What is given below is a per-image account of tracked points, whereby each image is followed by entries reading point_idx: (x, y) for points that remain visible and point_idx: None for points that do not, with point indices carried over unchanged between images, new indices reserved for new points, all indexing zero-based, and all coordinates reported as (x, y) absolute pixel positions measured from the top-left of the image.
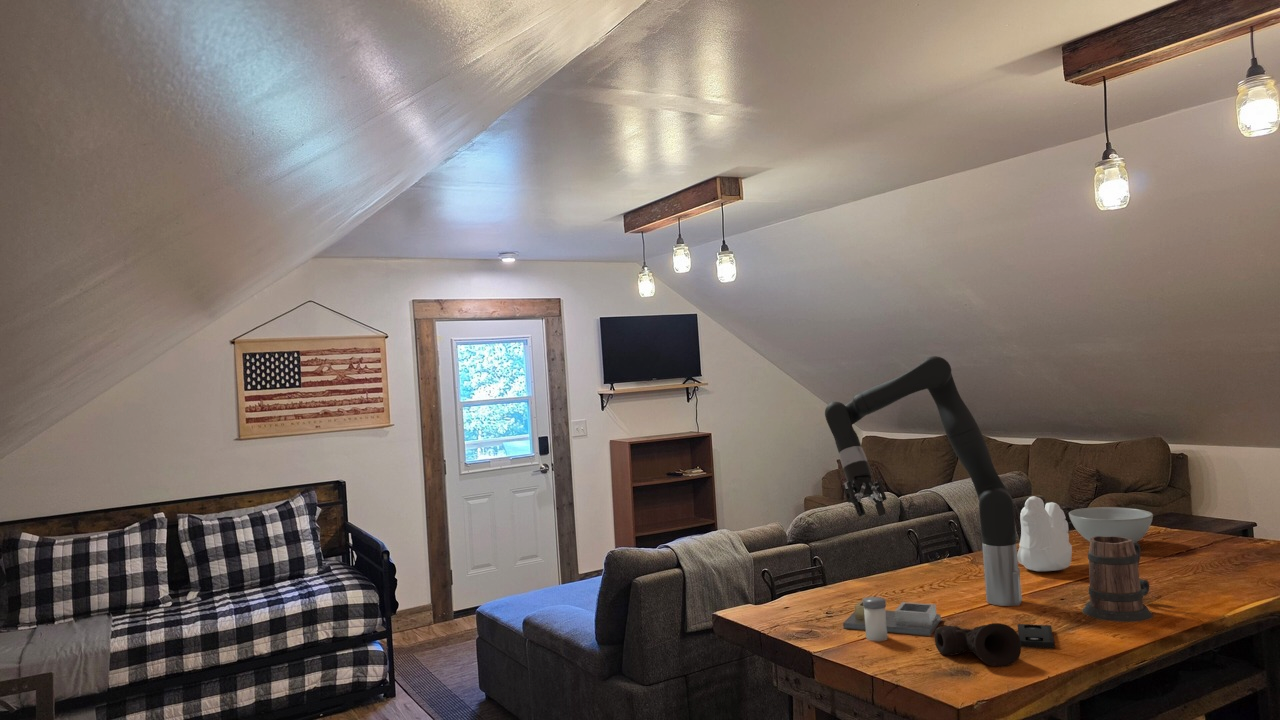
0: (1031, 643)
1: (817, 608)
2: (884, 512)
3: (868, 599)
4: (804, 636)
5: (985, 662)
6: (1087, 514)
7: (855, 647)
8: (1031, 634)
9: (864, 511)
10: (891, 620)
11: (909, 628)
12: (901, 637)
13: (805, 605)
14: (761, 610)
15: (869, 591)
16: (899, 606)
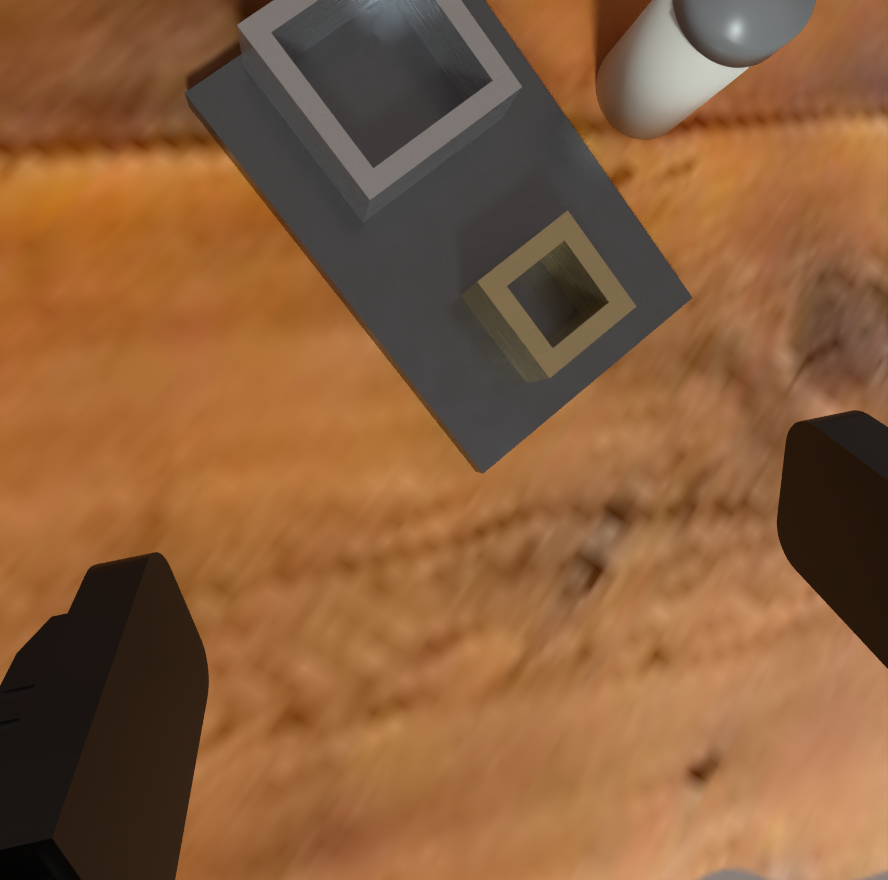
0: None
1: (590, 670)
2: (123, 565)
3: (775, 7)
4: (868, 309)
5: None
6: None
7: (785, 50)
8: None
9: (846, 438)
10: (480, 179)
11: (493, 14)
12: (547, 23)
13: (608, 754)
14: (820, 783)
15: None
16: (443, 137)
